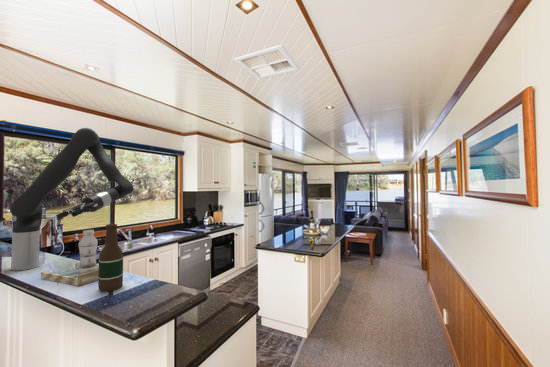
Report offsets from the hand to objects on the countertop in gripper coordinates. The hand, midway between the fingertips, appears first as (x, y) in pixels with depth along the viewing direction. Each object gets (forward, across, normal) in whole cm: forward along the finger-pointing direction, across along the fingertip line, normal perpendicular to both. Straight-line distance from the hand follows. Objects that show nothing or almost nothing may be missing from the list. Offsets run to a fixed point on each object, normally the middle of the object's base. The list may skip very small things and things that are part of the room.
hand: (64, 216), depth 106 cm
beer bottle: (+14, +26, +27) cm, 40 cm away
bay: (+7, +1, +25) cm, 26 cm away
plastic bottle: (+8, +7, +26) cm, 28 cm away
